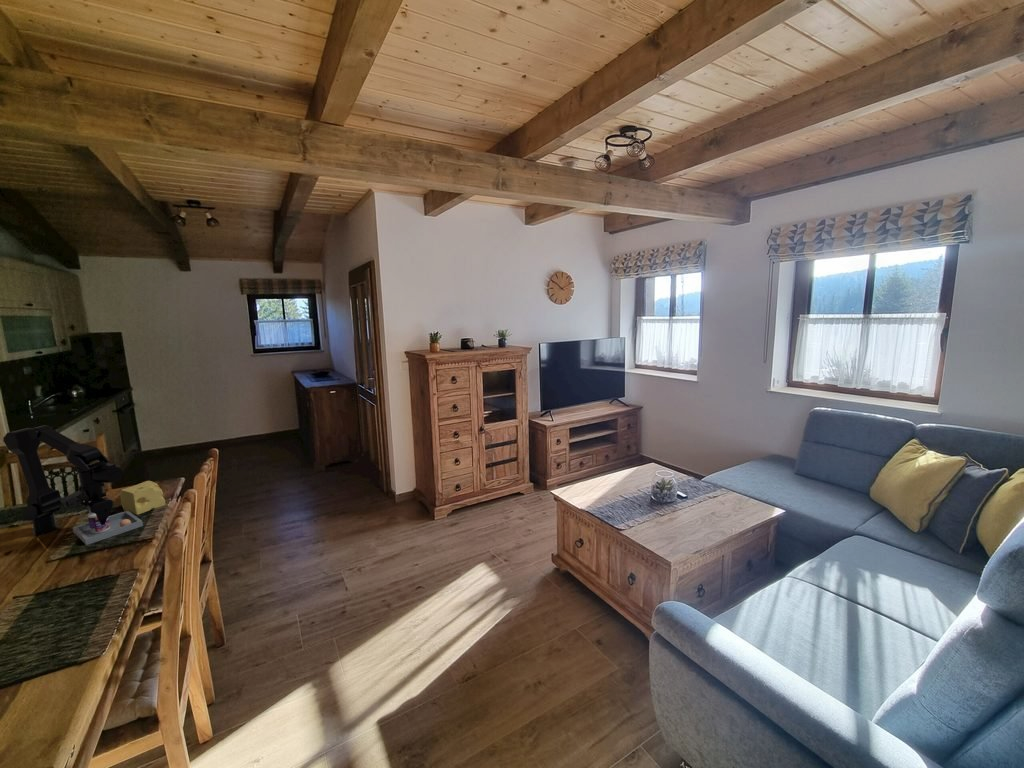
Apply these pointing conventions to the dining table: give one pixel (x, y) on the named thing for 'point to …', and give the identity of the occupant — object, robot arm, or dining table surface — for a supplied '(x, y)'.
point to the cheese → (142, 497)
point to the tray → (115, 529)
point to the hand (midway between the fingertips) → (99, 521)
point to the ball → (125, 522)
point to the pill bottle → (97, 524)
